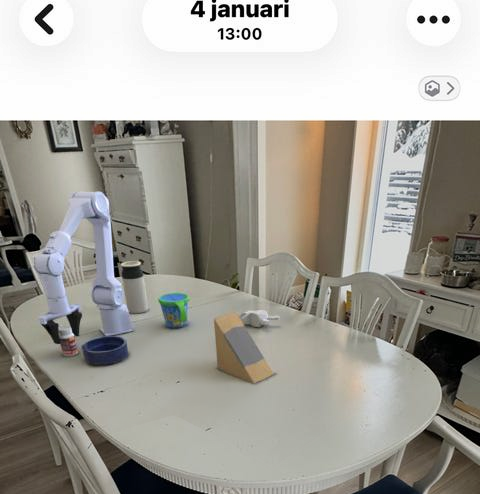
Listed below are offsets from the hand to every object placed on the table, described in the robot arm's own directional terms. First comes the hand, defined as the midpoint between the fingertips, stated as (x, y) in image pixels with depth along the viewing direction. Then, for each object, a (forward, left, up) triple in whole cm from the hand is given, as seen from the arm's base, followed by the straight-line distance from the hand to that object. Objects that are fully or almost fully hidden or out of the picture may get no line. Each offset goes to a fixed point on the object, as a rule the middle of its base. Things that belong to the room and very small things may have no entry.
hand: (67, 339), depth 147 cm
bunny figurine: (-63, +12, -5) cm, 64 cm away
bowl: (-9, +10, -5) cm, 14 cm away
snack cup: (-39, -5, -5) cm, 40 cm away
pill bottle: (0, 0, -5) cm, 5 cm away
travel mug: (-33, -30, -5) cm, 45 cm away
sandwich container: (-40, +43, -5) cm, 59 cm away
